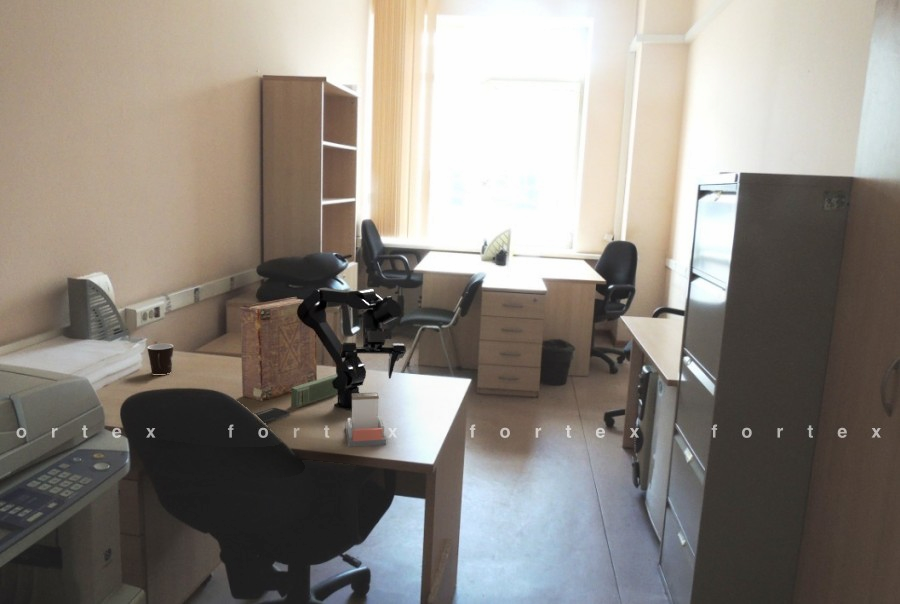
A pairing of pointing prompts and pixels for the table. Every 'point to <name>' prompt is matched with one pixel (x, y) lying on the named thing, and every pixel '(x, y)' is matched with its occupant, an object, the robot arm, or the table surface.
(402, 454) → the table surface
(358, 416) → the white box
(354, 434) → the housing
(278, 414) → the phone
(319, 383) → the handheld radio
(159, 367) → the coffee mug
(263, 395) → the book
